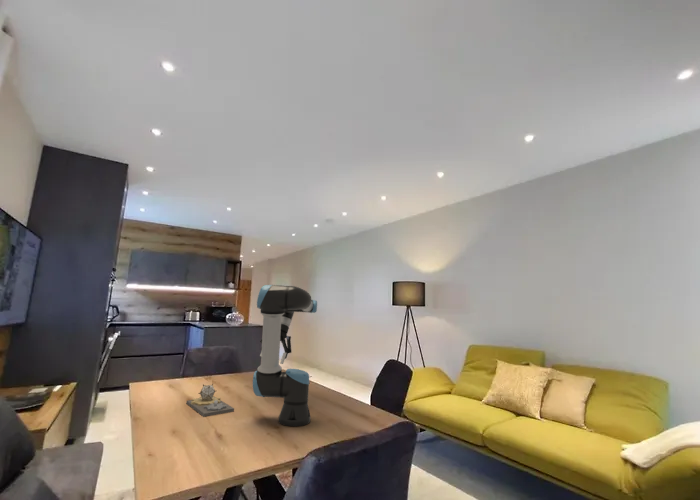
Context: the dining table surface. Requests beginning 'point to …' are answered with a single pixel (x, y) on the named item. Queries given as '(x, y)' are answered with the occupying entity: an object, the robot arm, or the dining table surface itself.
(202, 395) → the game die
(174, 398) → the dining table surface
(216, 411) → the gear board
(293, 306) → the robot arm
